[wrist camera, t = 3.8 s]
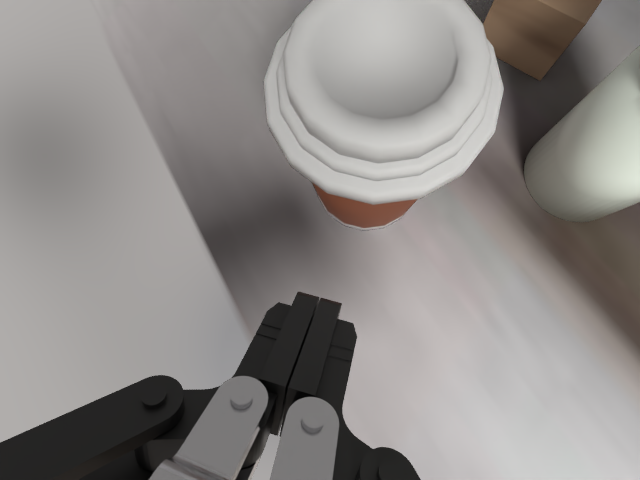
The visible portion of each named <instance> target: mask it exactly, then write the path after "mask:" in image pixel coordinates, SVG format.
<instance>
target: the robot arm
mask: <svg viewBox="0 0 640 480" xmlns="http://www.w3.org/2000/svg"><path fill="white" fill-rule="evenodd" d="M318 303H319V304H318ZM341 305H342V303H338V302H335V301H331V300H327V299H324V298H320V301H319V297H316V296H313V295H309V294H306V293H302V292H298V293H297V295H296V297H295V299H294V301H293V304H292V306H290V305H287V304H283V303H280V302H279V303H277V304H276V305H275V306H273V307H272V308H271V309H270V310H268V311H267V313H266V315H265V317H264V319H263V321H262V323H261V326H260V327H259V328H258V330H257V332H256V335H255V336H254V338H253V340H252V342H251V344H250V346H249V348H248V350H247V352H246V354H245V356H244V358H243V359H242V361H241V363H240V365H239V367H238V369H237V371H236V373H235V374H234V376H233V377H232V378H231V379H229V380H227V381H225V382H224V383H223V384H222V385H221V386H219V387H216V388H213V389H205V390H183V388H182V386H181V384H180V383H179V382H178V381H177V380H176V379H174V378H172V377H169V376H163V375H158V376H152V377H149V378H146V379H143V380H141V381H139V382H137V383H134V384H132V385H130V386H128V387H125V388H123V389H121V390H119V391H116V392H114V393H112V394H109V395H107V396H105V397H103V398H101V399H98V400H96V401H94V402H91V403H89V404H87V405H85V406H82V407H80V408H78V409H76V410H73V411H71V412H69V413H66V414H64V415H62V416H60V417H57V418H55V419H53V420H51V421H48V422H46V423H44V424H42V425H39V426H37V427H35V428H33V429H30V430H28V431H26V432H23V433H21V434H19V435H17V436H14V437H12V438H10V439H8V440H5V441H3V442H1V443H0V480H251V479H252V476H253V474H254V472H255V469H256V467H257V465H258V463H259V461H260V458H261V454H262V452H263V450H264V447H265V445H266V442H267V439H268V436H269V434H270V433H271V434H274V435H278V433H279V430H280V427H281V432H280V437H281V438H280V442H279V446H278V450H277V454H276V458H275V461H274V465H273V469H272V473H271V477H270V480H421V479H420V478H419V476H418V474H417V473H416V471H415V469H414V468H413V466H412V465H411V463H410V462H409V460H408V459H407V458H406V457H405V456H404V455H402V454H401V453H399V452H398V451H396V450H394V449H391V448H387V447H379V448H375V449H372V448H370V447H369V446H368V445H366V444H365V443H363V442H362V441H361V440H359V439H358V438H357V437H355V436H354V435H353V434H352V433H351V431H350V430H349V429H348V427H347V425H346V424H345V421H344V419H343V414H342V405H343V400H344V395H345V391H346V386H347V381H348V377H349V372H350V367H351V362H352V358H353V353H354V348H355V344H356V339H357V335H356V332H355V328H354V325H353V323H350V322H347V321H343V320H339V319H338V317H339V313H340V309H341ZM281 424H282V426H281Z"/></svg>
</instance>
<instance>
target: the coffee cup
mask: <svg viewBox="0 0 640 480" xmlns="http://www.w3.org/2000/svg"><path fill="white" fill-rule="evenodd" d="M263 85H264V95H265V106H266V116H267V124H268V127H269V129H270V131H271V133H272V135H273V137H274V138H275V140H276V142H277V143H278V145H279V147H280V149H281V150H282V152H283V154H284V155H285V157H286V159H287V161H288V162H289V164H290V166H291V167H292V168H293V169H295V170H296V171H297V172H299V173H300V174H302V175H303V176H304V177H306V178H307V179H308V180H310V181H311V182H312V183H313V186H314V188H315V190H316V192H317V194H318V198H319V199H320V201H321V203H322V205H323V206H324V208H325V210H326V211H327V213H328V214H329V215H330V216H331V217H333V218H334V219H336V220H337V221H338V222H340V223H341V224H342V225H344V226H347V227H351V228H355V229H359V230H363V231H365V230H373V229H381V228H385V227H387V226H388V225H390V224H392V223H394V222H395V221H397V220H399V219H401V218H402V216H403V215H404V214H405V213H406V211H407V210H408V209H409V208H410V207H411V206H412V205H413V204H414V203H415V202H416V200H417V199H421V198H423V197H425V196H427V195H428V194H430V193H432V192H434V191H435V190H437V189H439V188H441V187H443V186H444V185H446V184H448V183H450V182H451V181H453V180H455V179H457V178H459V177H460V176H462V175H463V174H464V172H465V171H466V170H467V168H468V167H469V166H470V165H471V163H472V162H473V161H474V159H475V158H476V157H477V155H478V154H479V153H480V151H481V150H482V149H483V147H484V146H485V145H486V143H487V142H488V141H489V139H490V138H491V137H492V135H493V134H494V133H495V129H496V124H497V120H498V115H499V110H500V105H501V100H502V96H503V91H504V87H503V83H502V79H501V75H500V71H499V67H498V63H497V59H496V55H495V51H494V47H493V46H492V44H491V43H490V42H489V41H488V39H487V38H486V34H485V30H484V26H483V23H482V22H481V21H480V20H479V18H478V17H477V16H476V15H475V13H474V12H473V11H472V10H471V8H470V7H469V6H468V5H467V3H466V2H465V1H464V0H312V1H311V2H310V3H309V4H308V5H307V6H306V7H305V9H304V10H303V11H302V12H301V13H300V14H299V15H298V16H297V18H296V19H295V20H294V22H293V24H292V26H291V27H290V28H289V29H288V30H287V31H286V32H285V33H284V35H283V36H282V37H281V38H280V39H279V40H278V41H277V44H276V47H275V50H274V53H273V55H272V58H271V61H270V64H269V67H268V70H267V73H266V76H265V79H264V81H263Z"/></svg>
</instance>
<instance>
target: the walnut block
mask: <svg viewBox="0 0 640 480" xmlns="http://www.w3.org/2000/svg"><path fill="white" fill-rule="evenodd" d="M601 1H602V0H494V1H493V4H492V6H491V8H490V10H489V12H488V14H487V17H486V19H485V21H484V23H483V26H484V30H485V34H486V38H487V39H488V41H489V42H490V43H491V44H492V46H493V47H494V51H495V55H496V58H498V59H500V60H502V61H504V62H506V63H508V64H509V65H511V66H513V67H515V68H517V69H519V70H521V71H522V72H524V73H526V74H528V75H530V76H532V77H534V78H535V79H537V80H539V81H540V80H541V79H542V78H543V77H544V75H545V74H546V73H547V72H548V70H549V69H550V68H551V67H552V66H553V64H554V63H555V62H556V61H557V59H558V58H559V57H560V56H561V54H562V53H563V52H564V51H565V49H566V48H567V47H568V46H569V44H570V43H571V42H572V41H573V39H574V38H575V37H576V36H577V34H578V33H579V32H580V31H581V29H582V28H583V27H584V26H585V24H586V23H587V21H588V20H589V18H590V17H591V16H592V14H593V13H594V11H595V10H596V8H597V7H598V5H599V4H600V2H601Z"/></svg>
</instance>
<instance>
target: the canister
mask: <svg viewBox="0 0 640 480" xmlns="http://www.w3.org/2000/svg"><path fill="white" fill-rule="evenodd" d="M524 178H525V183H526V186H527V189H528V191H529V193H530V195H531V196H532V198H533V199H534V200H535V201H536V203H537V204H538V205H539V206H540V207H541V208H543V209H544V210H545V211H547V212H548V213H550V214H551V215H553V216H555V217H557V218H560V219H563V220H567V221H572V222H589V221H594V220H597V219H600V218H602V217H605V216H607V215H609V214H612V213H614V212H617V211H619V210H621V209H624V208H626V207H629V206H631V205H633V204H636V203H638V202H640V46H638V47H637V48H636V49H635V50H634V51H633V52H632V53H631V54H630V55H629V56H628V57H627V58H626V59H625V60H624V61H623V62H622V63H621V64H619V65H618V66H617V67H616V68H615V69H614V70H613V71H612V72H611V73H610V74H609V75H608V76H607V77H606V78H605V79H604V80H603V81H602V82H600V83H599V84H598V85H597V86H596V87H595V88H594V89H593V90H592V91H591V92H590V93H589V94H588V95H587V96H586V97H585V98H584V99H583V100H581V101H580V102H579V103H578V104H577V105H576V106H575V107H574V108H573V109H572V110H571V111H570V112H569V113H568V114H567V115H566V116H565V117H563V118H562V119H561V120H560V121H559V122H558V123H557V124H556V125H555V126H554V127H553V128H552V129H551V130H550V131H549V132H548V133H547V134H546V135H544V136H543V137H542V138H541V139H540V140H539V141H538V142H537V143H536V144H535V145H534V146H533V147H532V149H531V150H530V152H529V153H528V155H527V158H526V161H525V165H524Z"/></svg>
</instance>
